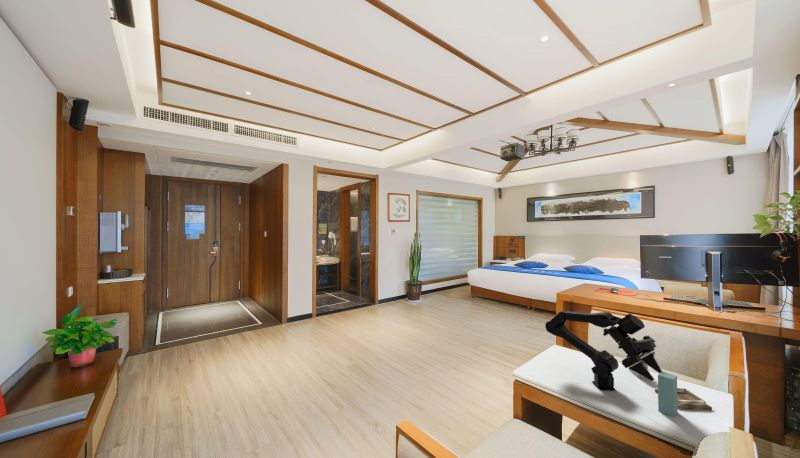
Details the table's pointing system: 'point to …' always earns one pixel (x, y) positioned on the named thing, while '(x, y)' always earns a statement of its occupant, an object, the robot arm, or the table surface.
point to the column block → (667, 394)
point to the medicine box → (638, 373)
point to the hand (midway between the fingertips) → (657, 376)
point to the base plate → (689, 400)
